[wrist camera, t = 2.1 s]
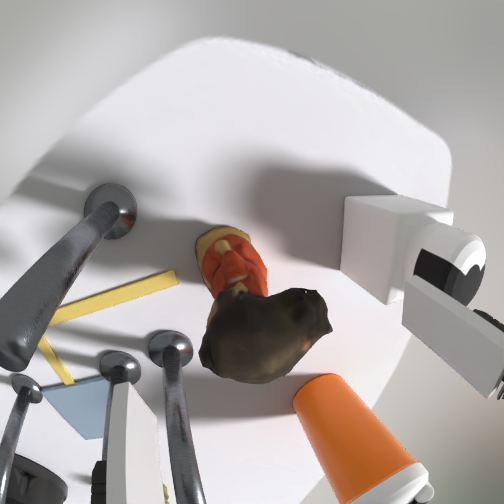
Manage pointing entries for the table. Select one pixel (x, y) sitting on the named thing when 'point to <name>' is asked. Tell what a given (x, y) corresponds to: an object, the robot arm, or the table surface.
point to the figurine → (253, 313)
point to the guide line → (98, 304)
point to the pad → (81, 405)
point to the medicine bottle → (408, 248)
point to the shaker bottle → (357, 447)
